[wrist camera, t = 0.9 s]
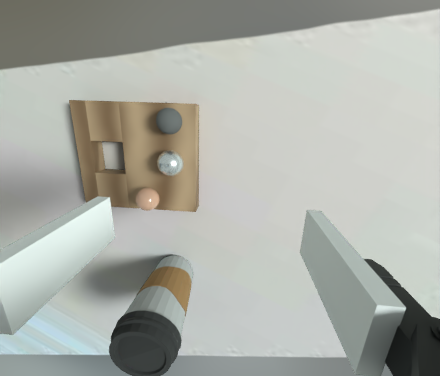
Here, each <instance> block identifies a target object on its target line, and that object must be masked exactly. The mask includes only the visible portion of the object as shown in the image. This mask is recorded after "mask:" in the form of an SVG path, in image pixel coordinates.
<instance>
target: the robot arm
mask: <svg viewBox="0 0 440 376" xmlns="http://www.w3.org/2000/svg"><path fill="white" fill-rule="evenodd" d="M114 238H115V234H114V226H113V218H112V210H111V202H110V197H96V198H94V199H92V200H90V201H88V202H87V203H85V204H83V205H81V206H79V207H78V208H76V209H74V210H72V211H70V212H68V213H67V214H65V215H63V216H61V217H59V218H57V219H56V220H54V221H52V222H50V223H48V224H46V225H45V226H43V227H41V228H39V229H37V230H36V231H34V232H32V233H30V234H28V235H26V236H25V237H23V238H21V239H19V240H17V241H15V242H14V243H12V244H10V245H8V246H6V247H4V248H3V249H1V250H0V334H9V335H13V334H14V333H16V332H17V331H18V330H19V329H20V328H21V327H22V326H23V325H24V324H25V323H26V322H27V321H28V320H29V319H30V318H31V317H32V316H33V315H34V314H35V313H37V312H38V311H39V310H40V309H41V308H42V307H43V306H44V305H45V304H46V303H47V302H48V301H49V300H50V299H51V298H52V297H53V296H54V295H55V294H56V293H57V292H59V291H60V290H61V289H62V288H63V287H64V286H65V285H66V284H67V283H68V282H69V281H70V280H71V279H72V278H73V277H74V276H75V275H76V274H77V273H78V272H80V271H81V270H82V269H83V268H84V267H85V266H86V265H87V264H88V263H89V262H90V261H91V260H92V259H93V258H94V257H95V256H96V255H97V254H98V253H99V252H100V251H102V250H103V249H104V248H105V247H106V246H107V245H108V244H109V243H110V242H111V241H112V240H113V239H114ZM300 253H301V256H302V258H303V260H304V262H305V265H306V267H307V269H308V271H309V273H310V276H311V278H312V280H313V282H314V284H315V287H316V289H317V291H318V293H319V296H320V298H321V300H322V302H323V304H324V307H325V309H326V311H327V313H328V316H329V318H330V320H331V322H332V324H333V327H334V329H335V331H336V333H337V336H338V338H339V340H340V342H341V344H342V347H343V349H344V351H345V353H346V355H347V358H348V360H349V362H350V364H351V366H352V369H353V371H354V373H355V374H358V375H366V376H381V374H382V372H383V369H384V366H385V364H387V366H388V367H389V369H390V371H391V373H392V374H393V376H440V319H438V318H435V317H431V316H430V315H429V314H428V313H427V312H426V310H425V309H424V308H423V307H422V306H421V305H420V304H419V303H418V302H417V301H416V300H415V299H414V298H413V297H412V296H411V295H410V294H409V293H408V292H407V291H406V290H405V289H404V288H403V287H401V285H400V284H399V283H398V282H397V281H396V280H395V279H393V276H392V275H391V274H390V273H389V272H388V271H387V270H386V269H385V268H384V267H382V266H381V265H379V264H378V263H376V262H374V261H373V260H371V259H363V258H362V257H361V256H360V255H359V253H358V252H357V251H356V250H355V249H354V248H353V247H352V245H351V244H350V243H349V242H348V241H347V240H346V239H345V238H344V236H343V235H342V234H341V233H340V232H339V231H338V230H337V228H336V227H335V226H334V225H333V224H332V223H331V222H330V221H329V219H328V218H327V217H326V216H325V215H324V214H323V213H322V211H316V210H307V213H306V219H305V225H304V231H303V237H302V242H301V248H300Z"/></svg>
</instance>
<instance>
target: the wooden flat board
mask: <svg viewBox="0 0 440 376" xmlns="http://www.w3.org/2000/svg"><path fill="white" fill-rule="evenodd" d="M69 103H70V109H71V115H72V121H73V127H74V133H75V139H76V145H77V151H78V157H79V163H80V169H81V175H82V181H83V188H84V194H85V200H86V203H87V202H88V201H90V200H92V199H94V198H96V197H110V202H111V207H127V208H139V207H138V205H137V204H136V195H137V193H138V192H139V191H140V190H141V189H144V188H152V189H154V190H155V191H157V193H158V194H159V198H160V200H159V204H158V205H157V207H156V208H154V209H159V210H174V211H190V212H196V210H197V208H198V206H199V105H197V104H180V103H147V102H113V101H80V100H69ZM164 108H173V109H175V110H177V111H178V112H179V113H180V115H181V117H182V127H181V129H180V130H179V131H178V132H177V133H175V134H165V133H163V132H162V131H160V129H159V128H158V126H157V124H156V117H157V114H158V112H159V111H160V110H162V109H164ZM102 141H111V142H123V152H124V162H125V170H115V169H105V163H104V156H103V148H102ZM168 150H173V151H176V152H178V153H179V154H180V155H181V156H182V158H183V161H184V166H183V169H182V171H181V172H180V173H179V174H177V175H175V176H166V175H164V174H163V173H161V172H160V170H159V169H158V166H157V160H158V157H159V156H160V154H161V153H163V152H164V151H168Z"/></svg>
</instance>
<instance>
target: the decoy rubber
mask: <svg viewBox="0 0 440 376" xmlns="http://www.w3.org/2000/svg"><path fill="white" fill-rule="evenodd" d="M156 124H157V126H158V128H159V129H160V131H162V132H163V133H165V134H175V133H177V132H178V131H179V130H180V129H181V127H182V117H181V115H180V113H179V112H178V111H177V110H175V109H173V108H164V109H162V110H160V111H159V112H158V114H157V117H156Z"/></svg>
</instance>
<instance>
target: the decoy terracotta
mask: <svg viewBox="0 0 440 376" xmlns="http://www.w3.org/2000/svg"><path fill="white" fill-rule="evenodd" d="M159 200H160V198H159V194H158V193H157V191H155V190H154V189H152V188H144V189H141V190H140V191H139V192H138V193H137V195H136V204H137V205H138V207H139V208H141V209H142V210H146V211H149V210H153V209H154V208H156V207H157V205H158V204H159Z"/></svg>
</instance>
